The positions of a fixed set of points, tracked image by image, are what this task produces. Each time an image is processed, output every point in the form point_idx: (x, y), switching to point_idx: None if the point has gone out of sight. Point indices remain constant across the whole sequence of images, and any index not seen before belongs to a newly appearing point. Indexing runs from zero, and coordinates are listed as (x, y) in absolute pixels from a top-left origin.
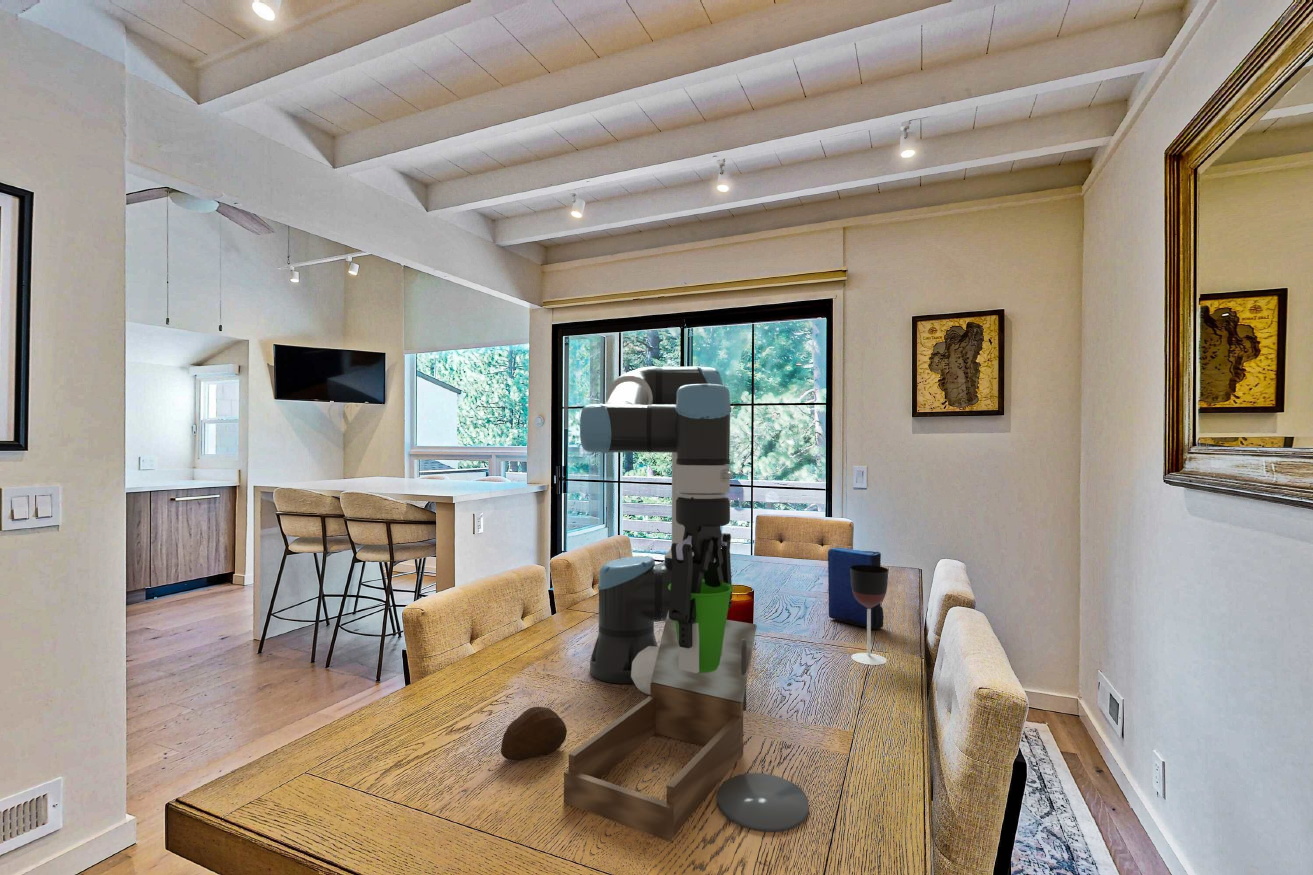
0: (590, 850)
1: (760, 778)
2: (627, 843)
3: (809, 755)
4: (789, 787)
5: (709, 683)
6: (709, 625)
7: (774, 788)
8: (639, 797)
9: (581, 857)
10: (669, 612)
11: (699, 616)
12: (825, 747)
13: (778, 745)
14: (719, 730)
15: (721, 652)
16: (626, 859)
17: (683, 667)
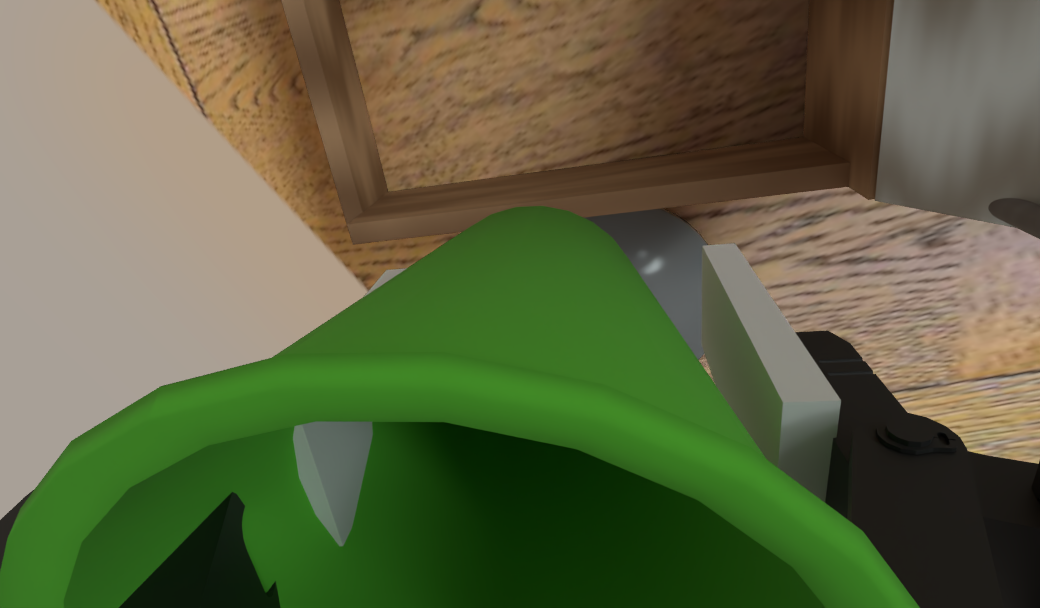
0: (237, 93)
1: (690, 270)
2: (309, 143)
3: (902, 307)
4: (690, 337)
5: (942, 31)
6: (398, 574)
7: (667, 312)
8: (326, 148)
9: (211, 93)
10: (11, 516)
11: (306, 595)
12: (973, 325)
13: (927, 216)
14: (829, 89)
15: (705, 347)
16: (278, 173)
17: None
